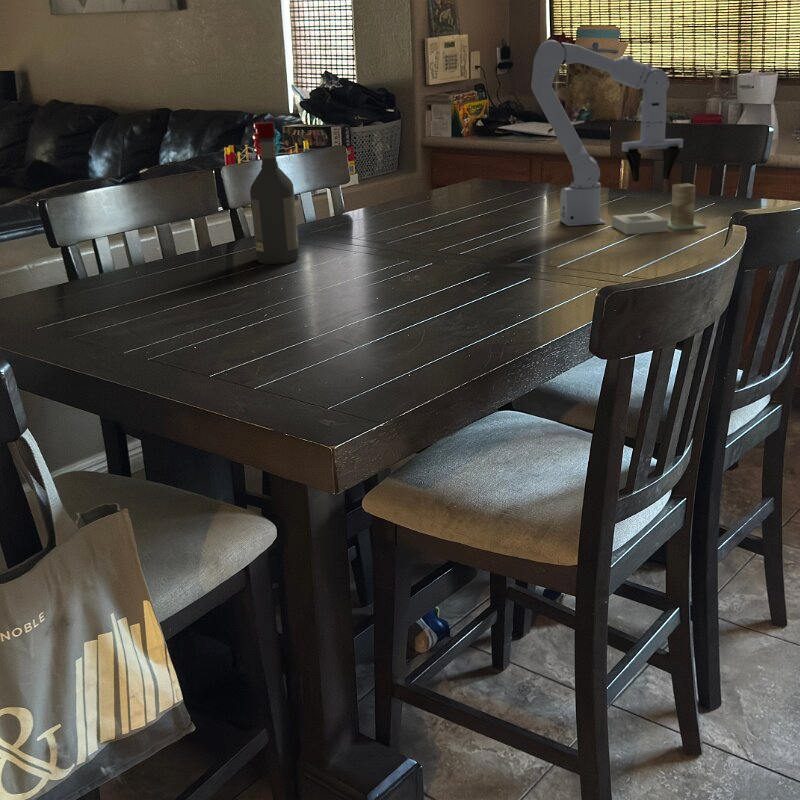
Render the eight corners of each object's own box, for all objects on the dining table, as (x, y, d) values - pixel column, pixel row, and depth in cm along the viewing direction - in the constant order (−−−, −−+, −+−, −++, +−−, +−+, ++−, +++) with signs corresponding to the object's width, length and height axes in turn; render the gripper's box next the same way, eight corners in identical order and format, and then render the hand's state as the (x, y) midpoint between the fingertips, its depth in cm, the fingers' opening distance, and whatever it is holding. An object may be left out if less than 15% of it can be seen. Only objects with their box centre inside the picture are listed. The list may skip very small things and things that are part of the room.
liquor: (299, 253, 228) (288, 119, 217) (297, 262, 220) (285, 123, 209) (260, 256, 228) (246, 121, 217) (256, 265, 220) (241, 126, 209)
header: (626, 234, 230) (626, 223, 229) (611, 226, 239) (612, 215, 238) (667, 231, 231) (668, 220, 230) (651, 223, 240) (652, 212, 239)
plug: (677, 225, 234) (679, 187, 231) (670, 222, 238) (672, 184, 234) (693, 224, 234) (695, 185, 231) (686, 221, 238) (688, 183, 235)
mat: (672, 230, 232) (673, 228, 231) (658, 223, 240) (658, 220, 240) (705, 227, 232) (705, 225, 232) (690, 220, 241) (690, 218, 241)
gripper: (629, 125, 230) (627, 184, 235) (689, 121, 231) (686, 180, 236) (619, 122, 236) (617, 180, 241) (677, 118, 238) (674, 175, 243)
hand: (650, 179), depth 239 cm, fingers open, 7 cm apart
